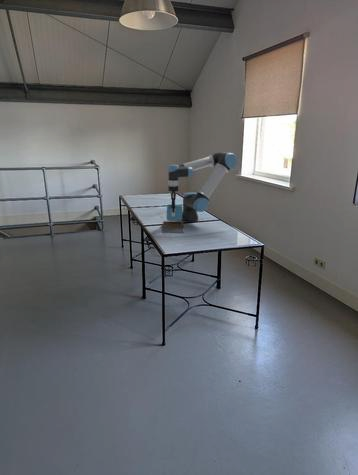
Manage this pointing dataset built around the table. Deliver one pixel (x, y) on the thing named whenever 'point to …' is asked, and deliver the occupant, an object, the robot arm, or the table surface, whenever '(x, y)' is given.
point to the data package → (177, 213)
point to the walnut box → (172, 224)
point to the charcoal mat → (172, 230)
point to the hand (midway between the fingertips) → (173, 215)
